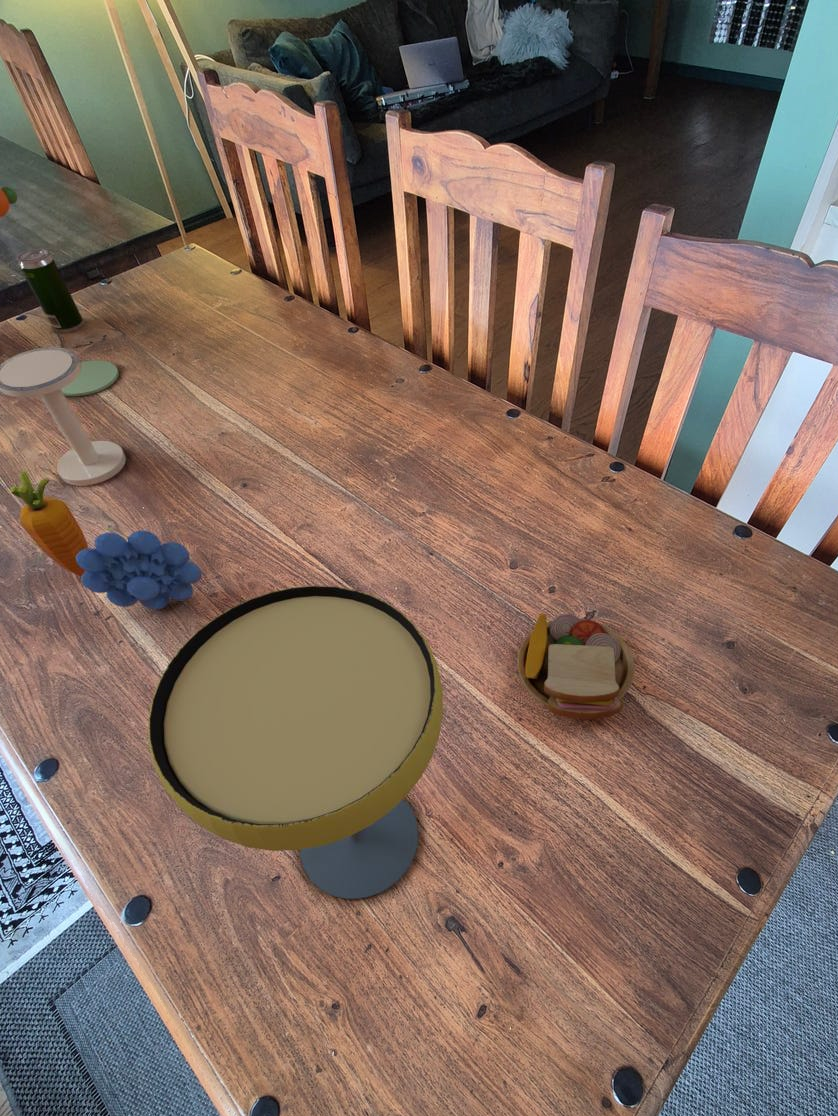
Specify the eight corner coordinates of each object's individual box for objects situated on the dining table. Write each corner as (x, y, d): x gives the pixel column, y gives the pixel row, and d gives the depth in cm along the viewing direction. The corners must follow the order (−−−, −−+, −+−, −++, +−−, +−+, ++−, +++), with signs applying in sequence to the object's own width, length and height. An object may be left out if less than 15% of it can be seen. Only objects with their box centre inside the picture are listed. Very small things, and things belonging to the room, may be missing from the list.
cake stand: (43, 468, 95) (-22, 370, 83) (107, 435, 99) (54, 338, 87) (77, 498, 90) (14, 399, 79) (142, 463, 95) (92, 365, 83)
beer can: (74, 334, 118) (37, 263, 108) (47, 332, 118) (8, 261, 109) (90, 320, 121) (56, 249, 111) (64, 317, 122) (27, 247, 112)
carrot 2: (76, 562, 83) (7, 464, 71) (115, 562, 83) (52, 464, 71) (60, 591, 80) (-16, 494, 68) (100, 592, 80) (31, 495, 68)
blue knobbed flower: (113, 648, 75) (57, 576, 65) (109, 606, 78) (56, 532, 69) (217, 617, 77) (178, 543, 68) (208, 578, 81) (170, 502, 71)
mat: (43, 381, 109) (41, 378, 108) (99, 356, 113) (98, 353, 113) (73, 403, 104) (71, 401, 104) (130, 377, 109) (128, 374, 108)
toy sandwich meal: (637, 634, 75) (644, 606, 71) (626, 737, 67) (634, 712, 63) (528, 616, 76) (530, 588, 73) (504, 714, 68) (505, 689, 65)
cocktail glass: (240, 945, 55) (98, 833, 35) (279, 751, 66) (188, 583, 46) (456, 943, 55) (435, 830, 35) (459, 749, 66) (445, 580, 46)
